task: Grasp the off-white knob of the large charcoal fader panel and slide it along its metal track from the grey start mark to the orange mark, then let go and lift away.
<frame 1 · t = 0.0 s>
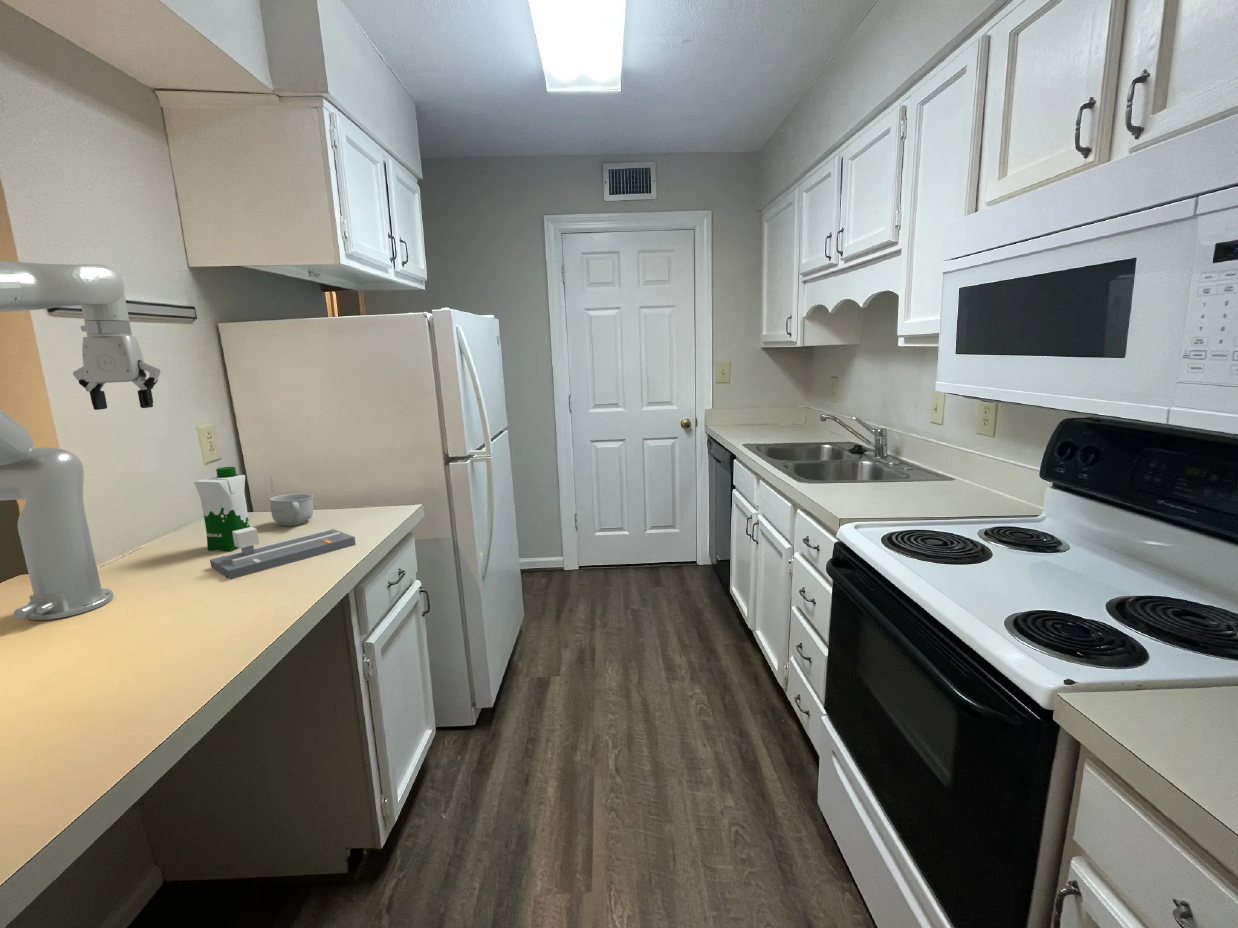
hand: (124, 408, 132), 37 cm above the countertop, tool pointing down, fingers open, 9 cm apart
fader panel: (286, 555, 142), on the countertop
milk carton: (230, 547, 150), on the countertop
teacup: (294, 525, 168), on the countertop
fader: (246, 543, 134), point 5 cm above the countertop, slide at -8.0 cm
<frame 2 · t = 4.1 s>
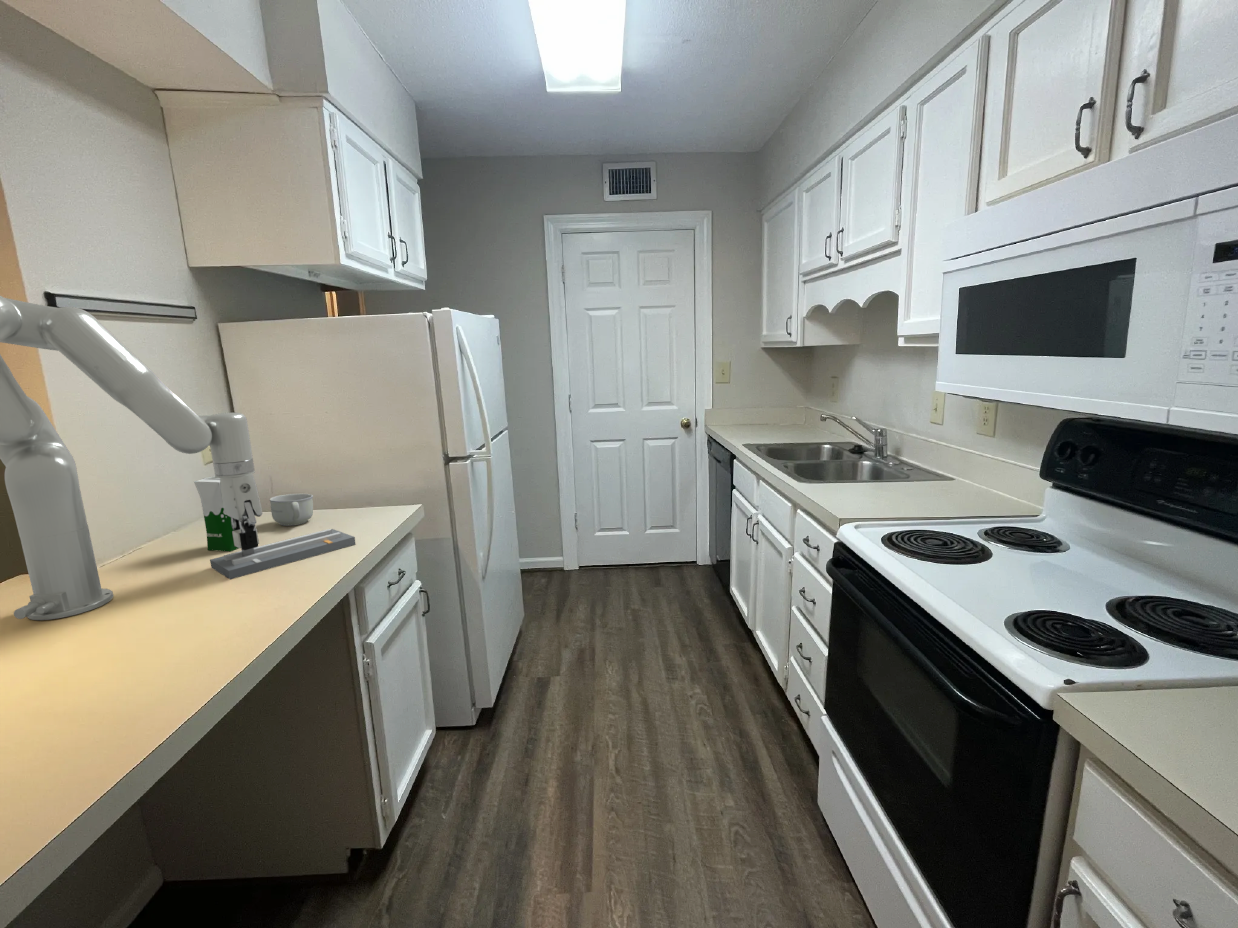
hand: (246, 546, 135), 5 cm above the countertop, tool pointing down, fingers closed on fader, 3 cm apart
fader: (246, 543, 134), point 5 cm above the countertop, slide at -8.0 cm, touching gripper
everything else where it was.
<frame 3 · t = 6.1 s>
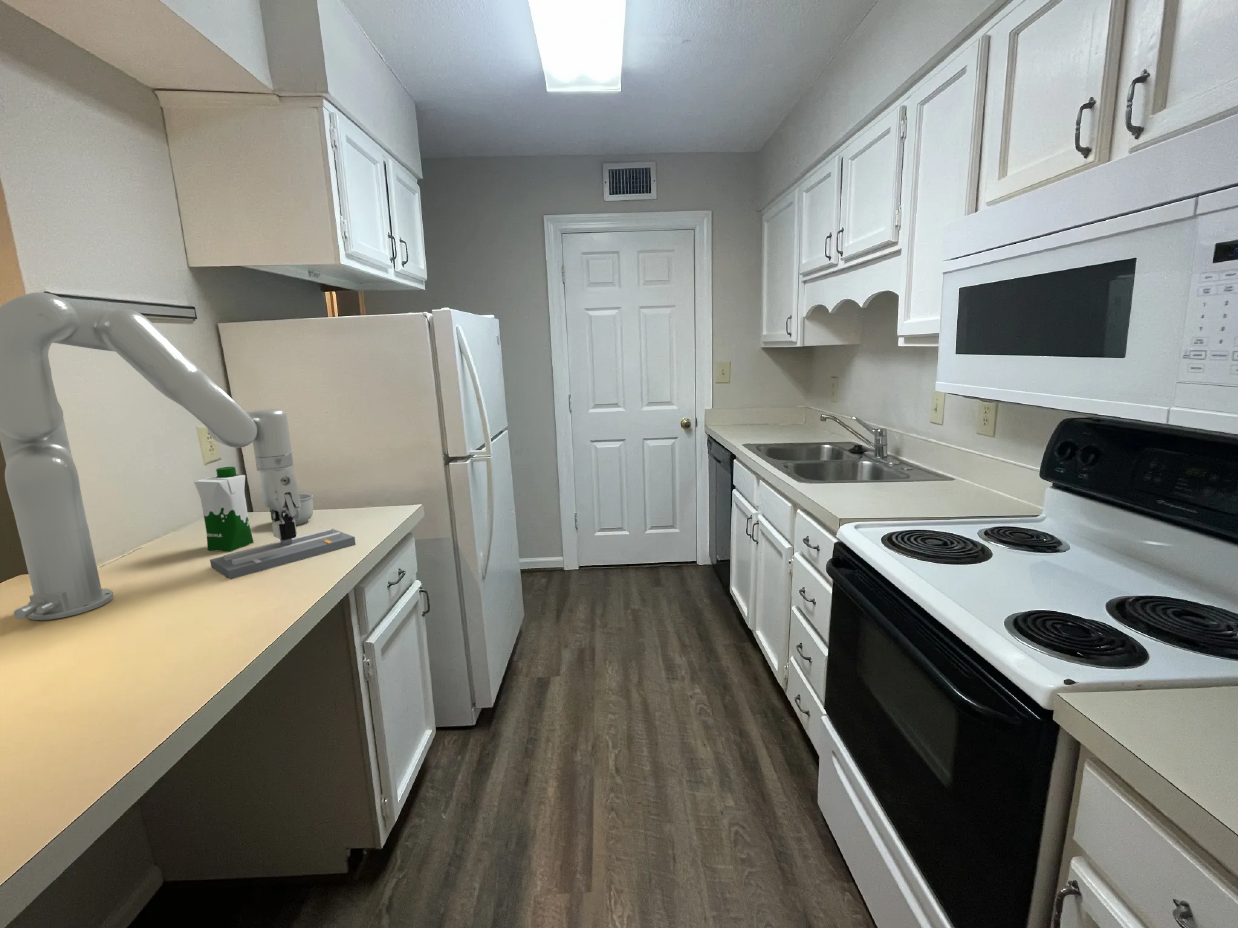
hand: (285, 536, 141), 5 cm above the countertop, tool pointing down, fingers closed on fader, 3 cm apart
fader: (285, 533, 141), point 5 cm above the countertop, slide at 0.3 cm, touching gripper
everything else where it was.
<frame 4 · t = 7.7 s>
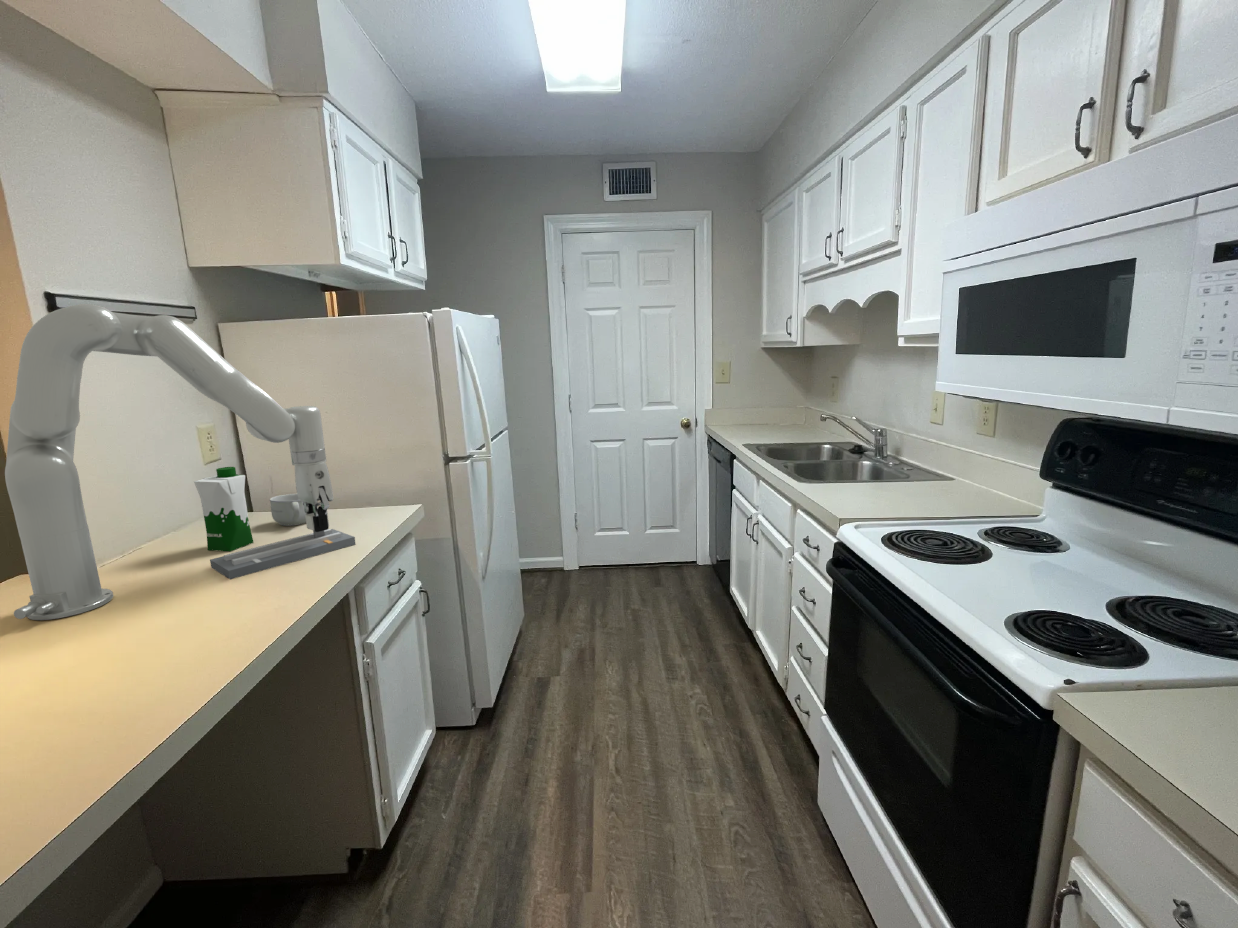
hand: (318, 528, 147), 5 cm above the countertop, tool pointing down, fingers closed on fader, 3 cm apart
fader: (318, 526, 147), point 5 cm above the countertop, slide at 8.0 cm, touching gripper
everything else where it was.
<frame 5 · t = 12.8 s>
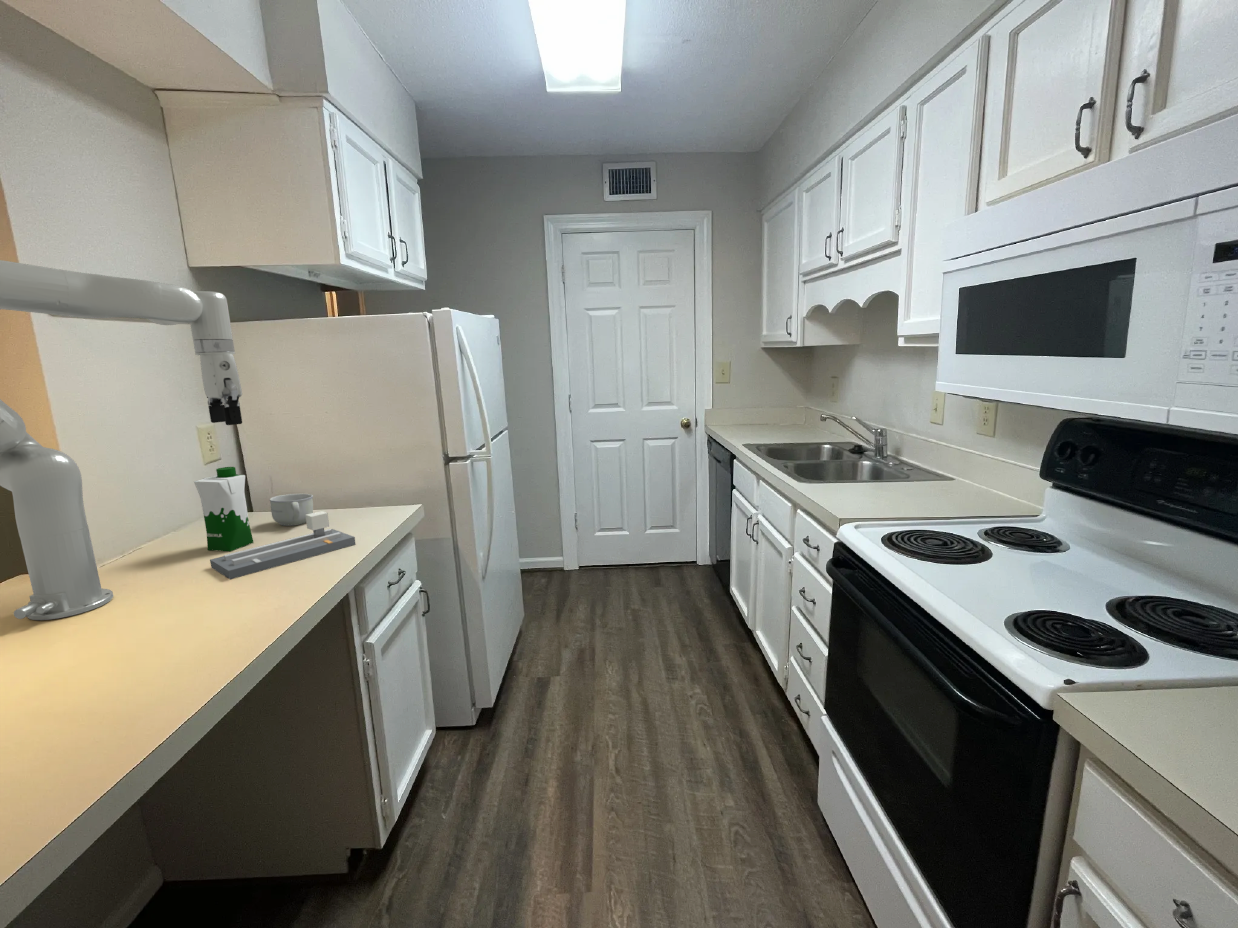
hand: (226, 423, 136), 32 cm above the countertop, tool pointing down, fingers open, 9 cm apart
fader: (318, 525, 147), point 5 cm above the countertop, slide at 8.1 cm
everything else where it was.
at the end: fader slide at 8.1 cm; the gripper is holding nothing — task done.
